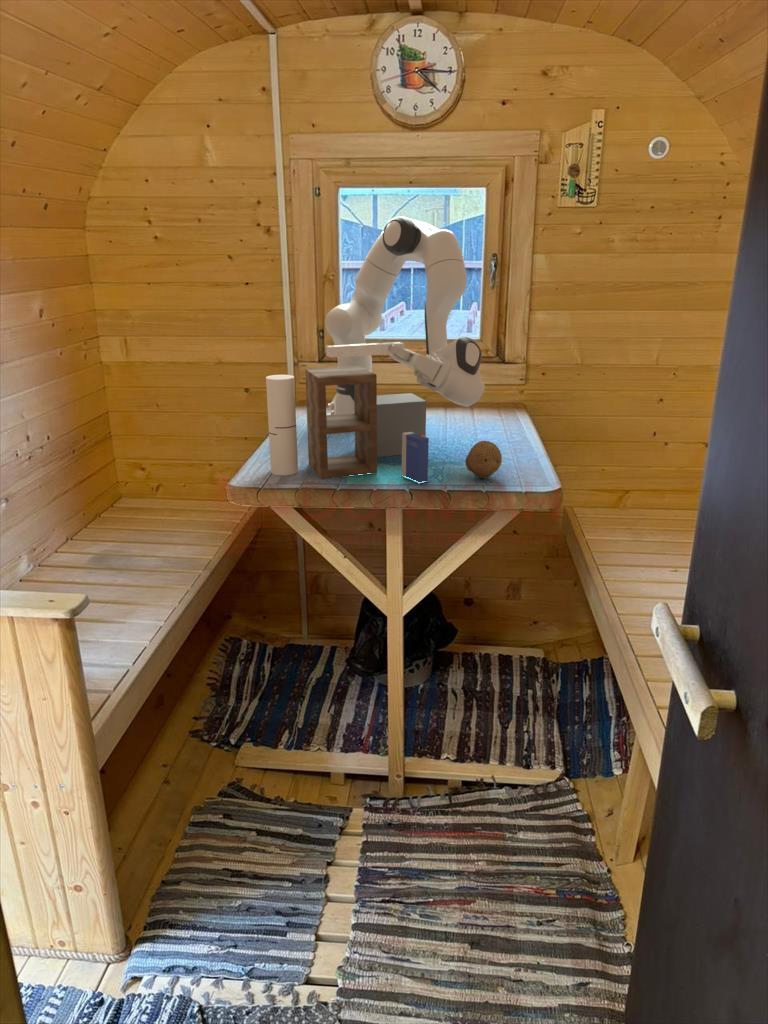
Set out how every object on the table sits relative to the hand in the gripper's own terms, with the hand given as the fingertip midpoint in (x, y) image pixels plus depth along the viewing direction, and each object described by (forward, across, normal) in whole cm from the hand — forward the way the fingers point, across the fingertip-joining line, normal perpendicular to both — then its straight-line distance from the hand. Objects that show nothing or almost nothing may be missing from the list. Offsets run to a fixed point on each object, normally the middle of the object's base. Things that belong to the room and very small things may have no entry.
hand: (388, 346), depth 196 cm
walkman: (-18, +15, +27) cm, 35 cm away
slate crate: (-21, -14, +25) cm, 35 cm away
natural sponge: (-32, +20, +18) cm, 42 cm away
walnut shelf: (-4, 0, +34) cm, 34 cm away
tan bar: (+4, 0, +5) cm, 6 cm away
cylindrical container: (+8, -3, +42) cm, 43 cm away
